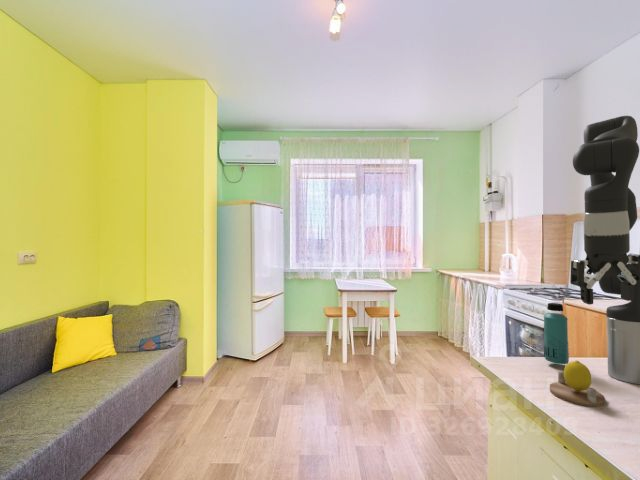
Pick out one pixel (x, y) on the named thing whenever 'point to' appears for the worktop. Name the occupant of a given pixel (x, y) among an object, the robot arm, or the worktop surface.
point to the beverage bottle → (556, 335)
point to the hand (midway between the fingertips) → (607, 301)
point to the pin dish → (576, 393)
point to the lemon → (577, 376)
